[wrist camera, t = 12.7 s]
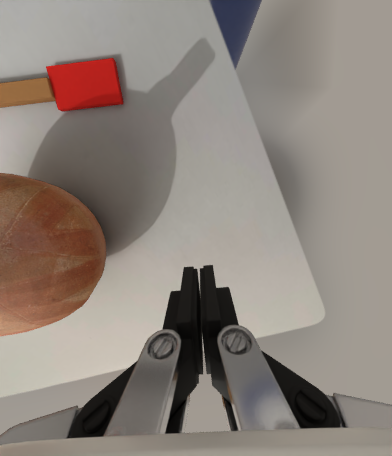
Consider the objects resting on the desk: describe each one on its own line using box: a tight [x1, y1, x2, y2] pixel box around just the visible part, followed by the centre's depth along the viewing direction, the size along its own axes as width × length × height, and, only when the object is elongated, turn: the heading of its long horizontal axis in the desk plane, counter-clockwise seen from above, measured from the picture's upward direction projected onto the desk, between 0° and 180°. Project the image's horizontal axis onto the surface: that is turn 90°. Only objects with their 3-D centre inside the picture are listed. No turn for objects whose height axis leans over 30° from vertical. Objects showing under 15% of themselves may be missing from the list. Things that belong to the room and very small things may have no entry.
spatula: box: [0, 58, 124, 111], centre depth 22 cm, size 4×22×1 cm, turn 96°
